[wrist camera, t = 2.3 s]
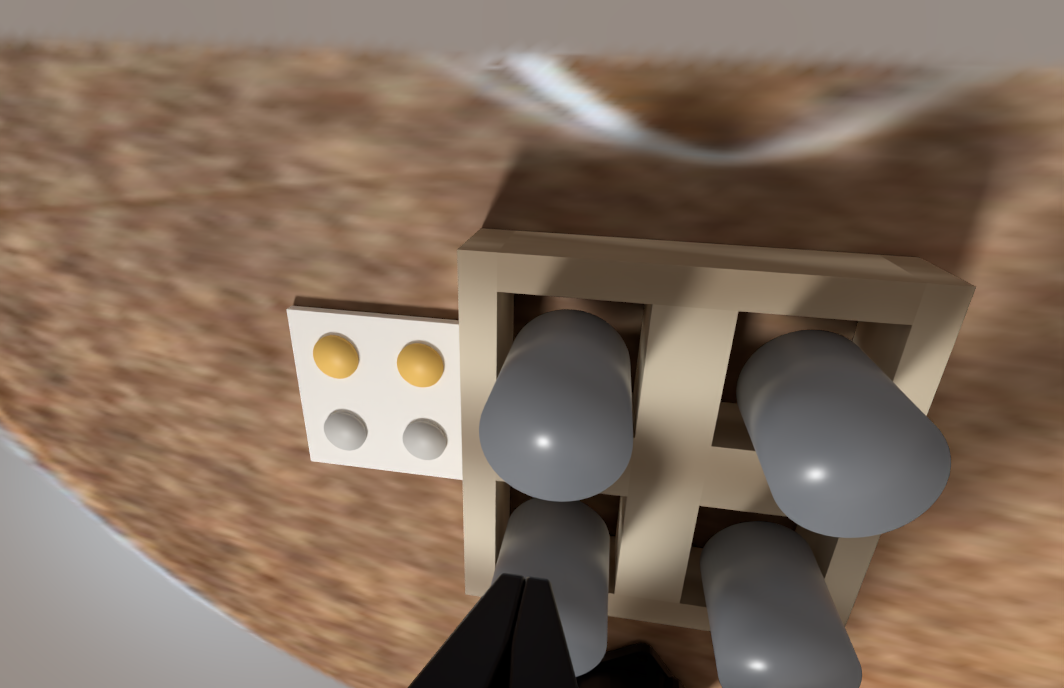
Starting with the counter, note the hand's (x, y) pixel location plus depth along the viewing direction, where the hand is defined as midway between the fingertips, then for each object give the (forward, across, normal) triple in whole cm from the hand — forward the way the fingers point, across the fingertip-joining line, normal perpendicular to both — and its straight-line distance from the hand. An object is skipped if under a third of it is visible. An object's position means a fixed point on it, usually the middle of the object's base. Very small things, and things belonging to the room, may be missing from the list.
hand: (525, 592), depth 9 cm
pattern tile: (+12, +8, +3) cm, 14 cm away
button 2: (+9, 0, 0) cm, 9 cm away
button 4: (+9, 0, +7) cm, 11 cm away
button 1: (+9, -7, 0) cm, 11 cm away
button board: (+12, -4, +3) cm, 12 cm away
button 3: (+9, -7, +7) cm, 13 cm away
